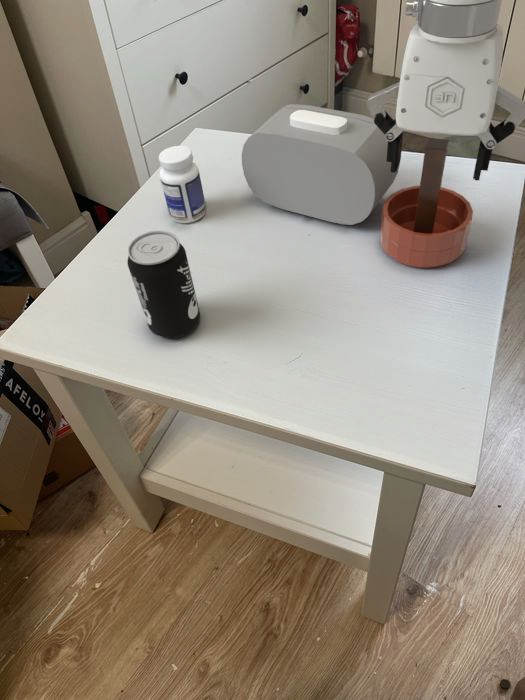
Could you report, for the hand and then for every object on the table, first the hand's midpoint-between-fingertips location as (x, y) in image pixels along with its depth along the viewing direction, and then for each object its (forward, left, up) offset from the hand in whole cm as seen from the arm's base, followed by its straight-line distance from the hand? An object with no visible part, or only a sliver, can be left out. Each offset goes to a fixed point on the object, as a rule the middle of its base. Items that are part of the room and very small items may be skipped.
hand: (435, 170), depth 68 cm
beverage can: (+27, +22, -11) cm, 37 cm away
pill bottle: (+35, 0, -12) cm, 37 cm away
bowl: (0, 0, -11) cm, 11 cm away
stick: (0, 0, -11) cm, 11 cm away
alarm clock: (+16, -7, -11) cm, 21 cm away
